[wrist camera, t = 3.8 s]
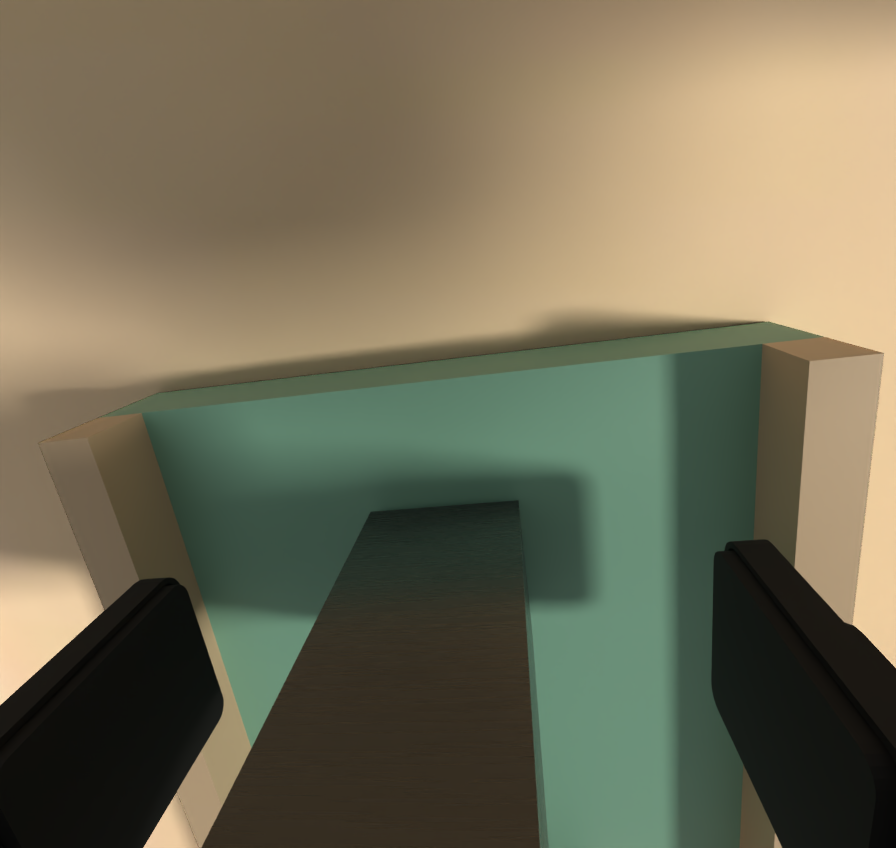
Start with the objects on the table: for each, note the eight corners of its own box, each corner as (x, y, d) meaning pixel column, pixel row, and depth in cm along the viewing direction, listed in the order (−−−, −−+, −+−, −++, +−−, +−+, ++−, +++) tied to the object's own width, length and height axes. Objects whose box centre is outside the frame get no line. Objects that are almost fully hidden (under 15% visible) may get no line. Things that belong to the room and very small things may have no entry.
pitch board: (157, 392, 13) (37, 443, 10) (769, 321, 11) (883, 353, 8) (352, 1012, 20) (322, 1159, 17) (734, 1033, 18) (784, 1204, 15)
